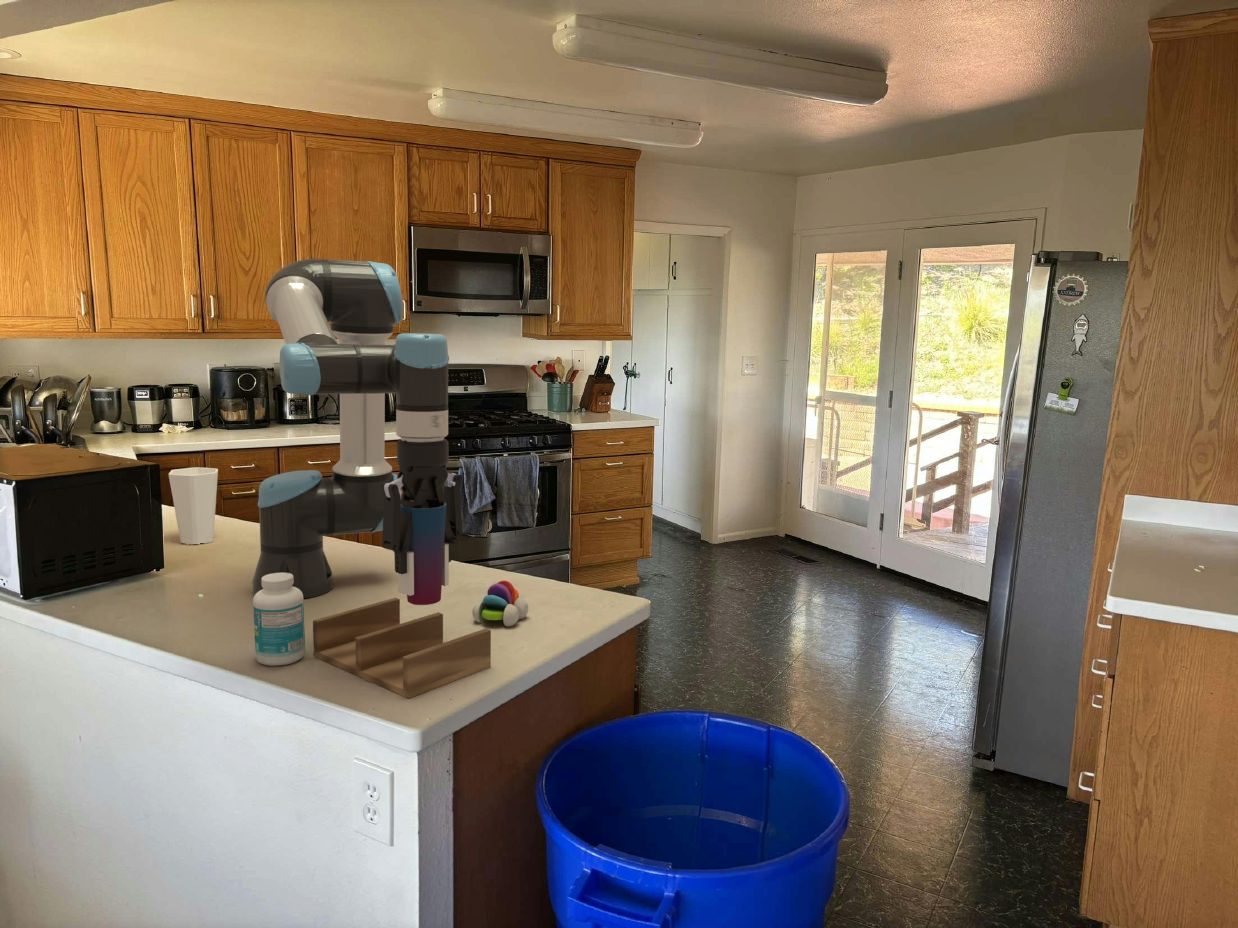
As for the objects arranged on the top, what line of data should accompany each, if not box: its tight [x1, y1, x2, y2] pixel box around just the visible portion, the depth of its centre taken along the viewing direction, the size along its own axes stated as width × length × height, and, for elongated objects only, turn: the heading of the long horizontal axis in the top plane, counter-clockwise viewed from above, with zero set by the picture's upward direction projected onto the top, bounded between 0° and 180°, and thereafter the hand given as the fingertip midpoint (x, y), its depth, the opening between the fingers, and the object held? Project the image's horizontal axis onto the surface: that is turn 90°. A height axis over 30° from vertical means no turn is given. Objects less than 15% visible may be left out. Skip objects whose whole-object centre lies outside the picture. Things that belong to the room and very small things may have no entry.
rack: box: [312, 597, 492, 699], centre depth 137 cm, size 24×16×6 cm, turn 52°
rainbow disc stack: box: [471, 580, 529, 628], centre depth 158 cm, size 8×10×7 cm
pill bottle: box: [252, 573, 306, 667], centre depth 137 cm, size 8×7×14 cm
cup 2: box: [401, 500, 446, 606], centre depth 131 cm, size 7×7×15 cm
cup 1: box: [168, 466, 219, 545], centre depth 206 cm, size 11×10×17 cm
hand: (424, 588), depth 132 cm, fingers closed on cup 2, 6 cm apart
